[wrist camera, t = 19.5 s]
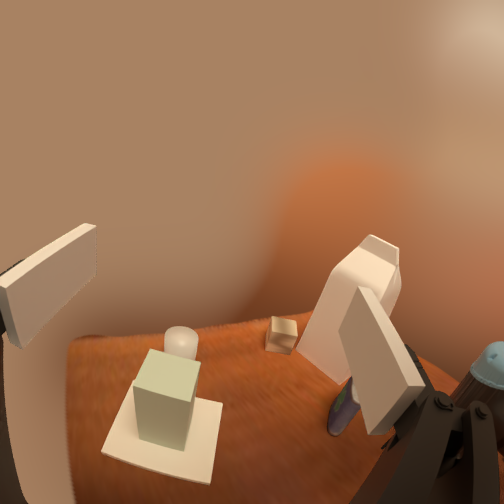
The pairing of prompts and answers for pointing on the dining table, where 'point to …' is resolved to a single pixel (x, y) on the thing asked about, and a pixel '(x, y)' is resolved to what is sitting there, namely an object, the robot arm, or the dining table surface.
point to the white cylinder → (181, 342)
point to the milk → (339, 298)
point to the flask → (343, 409)
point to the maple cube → (281, 335)
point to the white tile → (162, 458)
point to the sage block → (165, 398)
